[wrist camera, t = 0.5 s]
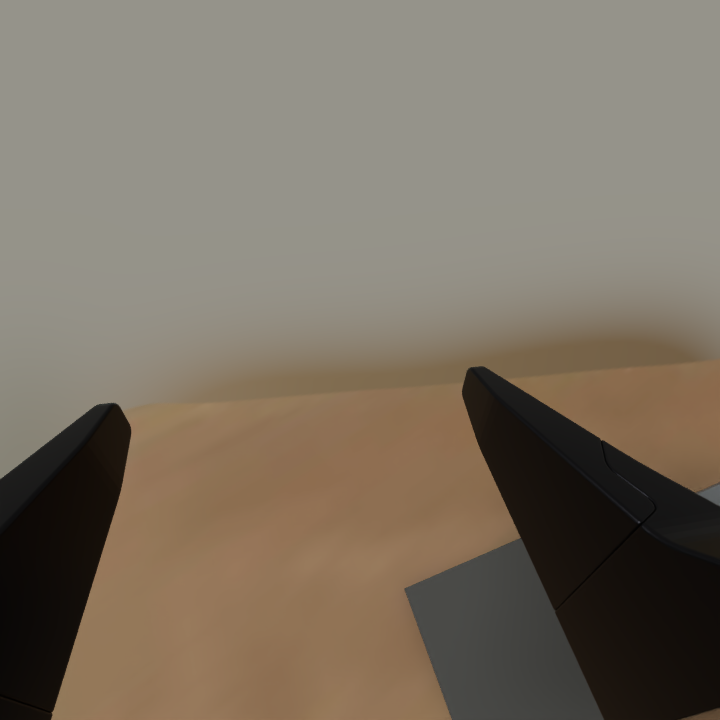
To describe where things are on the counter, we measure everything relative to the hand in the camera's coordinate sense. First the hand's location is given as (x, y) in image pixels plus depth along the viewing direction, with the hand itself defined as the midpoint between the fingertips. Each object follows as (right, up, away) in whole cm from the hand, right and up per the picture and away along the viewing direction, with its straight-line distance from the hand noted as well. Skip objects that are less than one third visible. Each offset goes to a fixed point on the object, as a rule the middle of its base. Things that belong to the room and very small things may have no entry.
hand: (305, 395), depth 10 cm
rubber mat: (+10, -16, +9) cm, 21 cm away
